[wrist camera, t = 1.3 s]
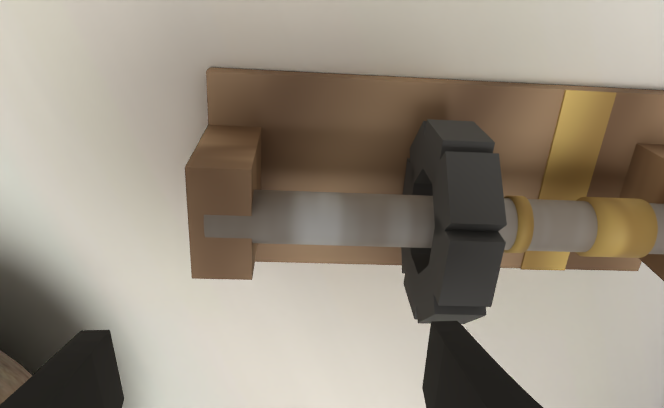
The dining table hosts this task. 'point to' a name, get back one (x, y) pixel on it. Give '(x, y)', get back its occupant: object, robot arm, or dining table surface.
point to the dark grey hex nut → (455, 222)
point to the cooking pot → (11, 376)
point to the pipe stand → (390, 166)
